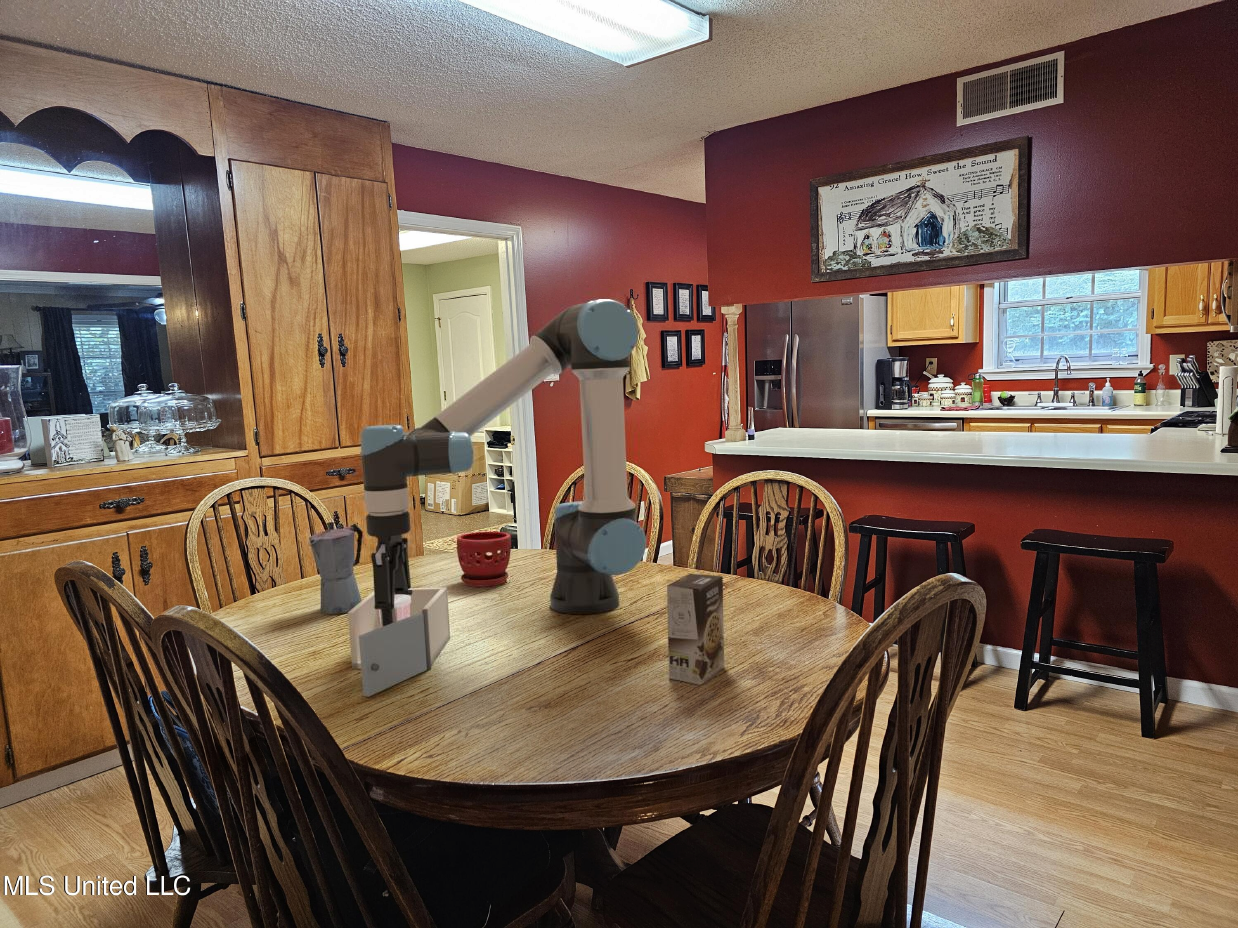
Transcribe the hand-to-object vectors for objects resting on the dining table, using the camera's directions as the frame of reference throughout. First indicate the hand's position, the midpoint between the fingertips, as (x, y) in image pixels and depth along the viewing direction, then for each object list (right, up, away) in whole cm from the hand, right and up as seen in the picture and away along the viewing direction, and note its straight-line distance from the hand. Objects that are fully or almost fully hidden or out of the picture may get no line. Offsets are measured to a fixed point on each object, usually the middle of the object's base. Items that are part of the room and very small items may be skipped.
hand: (396, 636), depth 146 cm
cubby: (0, -4, +4) cm, 6 cm away
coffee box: (+54, -4, -11) cm, 55 cm away
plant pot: (+8, +2, +52) cm, 53 cm away
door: (+3, -5, -11) cm, 13 cm away
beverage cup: (0, -2, 0) cm, 2 cm away
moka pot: (-22, -1, +34) cm, 41 cm away
